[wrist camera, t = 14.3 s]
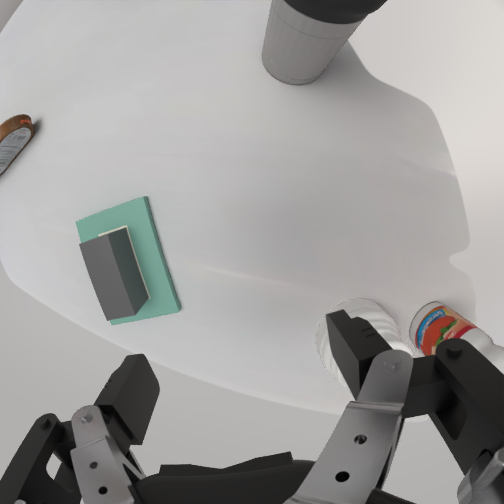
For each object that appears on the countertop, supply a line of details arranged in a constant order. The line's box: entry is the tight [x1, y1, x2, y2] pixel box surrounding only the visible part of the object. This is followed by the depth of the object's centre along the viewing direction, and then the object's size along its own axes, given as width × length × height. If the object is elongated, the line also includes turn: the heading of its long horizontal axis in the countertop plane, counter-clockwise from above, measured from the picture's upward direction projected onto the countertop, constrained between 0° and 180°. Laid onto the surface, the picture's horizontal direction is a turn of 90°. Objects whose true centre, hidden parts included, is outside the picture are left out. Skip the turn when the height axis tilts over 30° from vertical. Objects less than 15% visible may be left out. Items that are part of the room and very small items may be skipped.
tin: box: [0, 114, 34, 174], centre depth 29 cm, size 15×3×8 cm, turn 120°
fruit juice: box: [410, 302, 504, 374], centre depth 30 cm, size 9×9×28 cm
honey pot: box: [315, 299, 413, 394], centre depth 34 cm, size 13×13×18 cm
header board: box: [76, 196, 181, 325], centre depth 36 cm, size 17×12×5 cm
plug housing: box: [79, 227, 149, 321], centre depth 34 cm, size 11×5×6 cm, turn 14°
